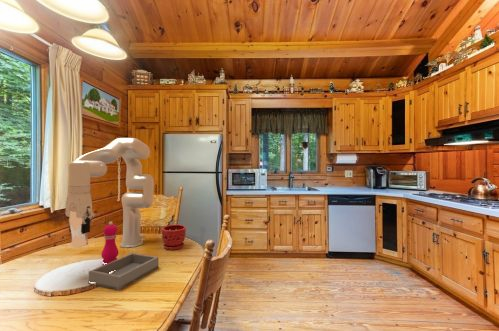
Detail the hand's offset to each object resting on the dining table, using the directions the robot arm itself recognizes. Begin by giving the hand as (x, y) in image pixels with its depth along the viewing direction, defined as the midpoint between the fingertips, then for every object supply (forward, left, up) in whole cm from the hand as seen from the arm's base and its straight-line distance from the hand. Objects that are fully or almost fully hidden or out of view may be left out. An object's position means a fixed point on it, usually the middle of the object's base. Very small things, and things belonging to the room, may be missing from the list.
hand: (79, 231), depth 104 cm
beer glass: (0, 0, -6) cm, 6 cm away
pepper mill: (-15, 0, -19) cm, 25 cm away
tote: (-7, +18, -19) cm, 27 cm away
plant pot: (-45, +15, -19) cm, 52 cm away
